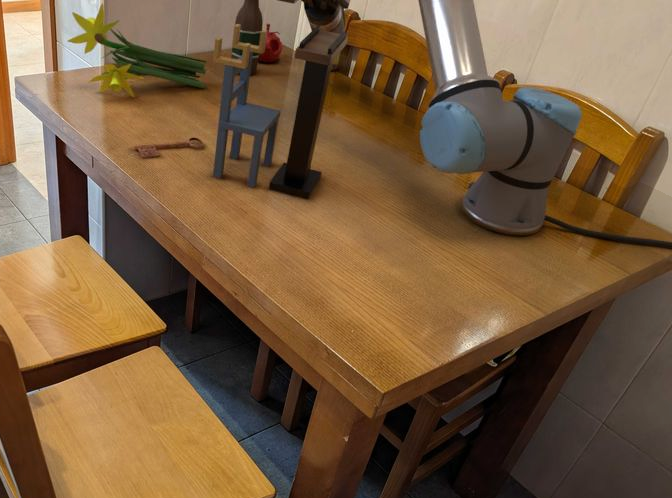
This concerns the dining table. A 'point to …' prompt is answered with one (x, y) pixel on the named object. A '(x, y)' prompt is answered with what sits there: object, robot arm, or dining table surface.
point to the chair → (242, 109)
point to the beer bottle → (249, 29)
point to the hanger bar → (289, 1)
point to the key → (153, 146)
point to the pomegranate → (271, 47)
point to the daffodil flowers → (135, 58)
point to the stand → (308, 112)
